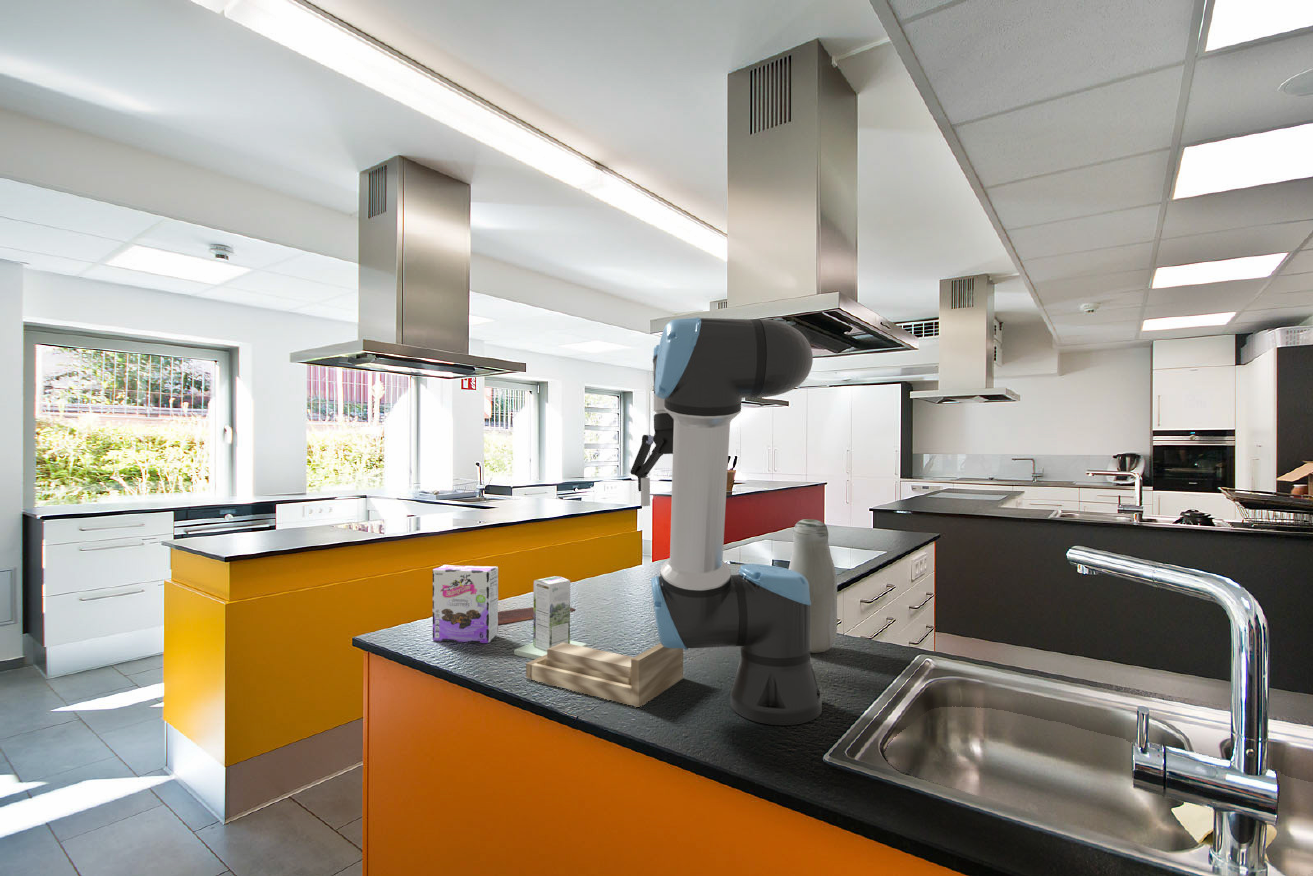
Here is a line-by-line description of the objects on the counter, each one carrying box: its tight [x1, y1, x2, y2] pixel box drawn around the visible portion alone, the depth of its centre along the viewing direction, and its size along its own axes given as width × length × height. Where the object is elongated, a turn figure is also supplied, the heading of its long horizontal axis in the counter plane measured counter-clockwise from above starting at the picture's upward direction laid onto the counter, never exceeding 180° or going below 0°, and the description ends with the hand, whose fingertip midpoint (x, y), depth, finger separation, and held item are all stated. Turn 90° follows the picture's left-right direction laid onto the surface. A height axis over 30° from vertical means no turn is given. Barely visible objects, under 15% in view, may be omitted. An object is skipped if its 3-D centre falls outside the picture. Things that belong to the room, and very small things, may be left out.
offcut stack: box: [546, 642, 635, 686], centre depth 114 cm, size 20×4×6 cm, turn 58°
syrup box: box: [532, 575, 571, 651], centre depth 133 cm, size 6×6×14 cm
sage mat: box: [513, 639, 589, 660], centre depth 133 cm, size 11×11×1 cm
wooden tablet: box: [498, 606, 576, 626], centre depth 161 cm, size 26×2×10 cm
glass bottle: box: [788, 518, 838, 654], centre depth 132 cm, size 10×10×28 cm
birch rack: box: [525, 642, 684, 708], centre depth 117 cm, size 26×16×8 cm, turn 59°
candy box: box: [432, 564, 499, 644], centre depth 142 cm, size 14×6×16 cm, turn 80°
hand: (671, 507), depth 139 cm, fingers open, 13 cm apart
